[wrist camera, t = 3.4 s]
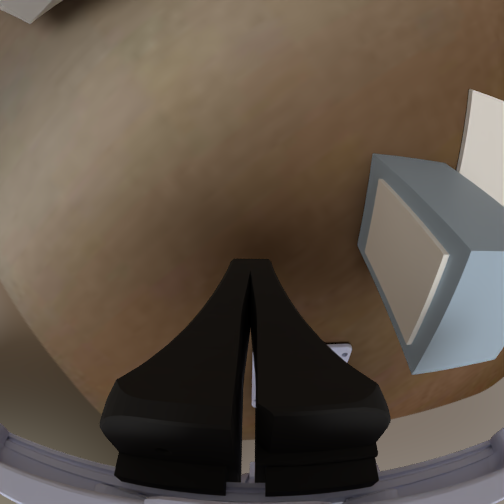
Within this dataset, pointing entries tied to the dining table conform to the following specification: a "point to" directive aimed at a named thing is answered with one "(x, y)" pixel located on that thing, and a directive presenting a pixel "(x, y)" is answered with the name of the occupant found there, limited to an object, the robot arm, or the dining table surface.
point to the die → (27, 8)
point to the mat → (484, 144)
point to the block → (435, 261)
